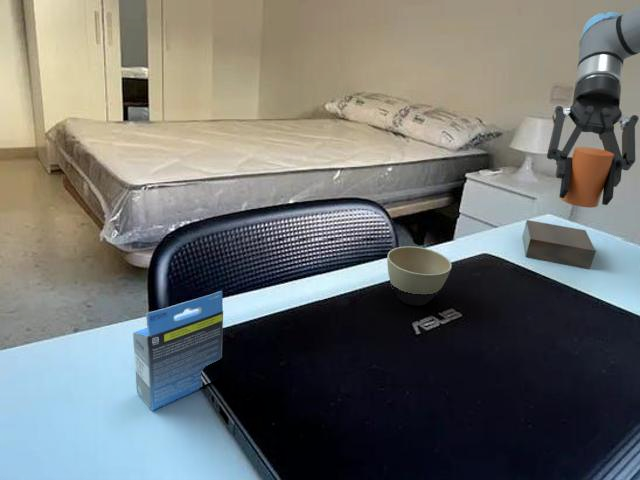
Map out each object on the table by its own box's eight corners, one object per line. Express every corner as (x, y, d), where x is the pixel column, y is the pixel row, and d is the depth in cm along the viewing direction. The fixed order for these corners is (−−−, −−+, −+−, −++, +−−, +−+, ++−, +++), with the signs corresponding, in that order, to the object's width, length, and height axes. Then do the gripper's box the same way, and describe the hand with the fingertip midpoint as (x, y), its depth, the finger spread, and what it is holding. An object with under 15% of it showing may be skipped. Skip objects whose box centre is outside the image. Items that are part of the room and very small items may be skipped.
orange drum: (594, 199, 89) (610, 150, 86) (600, 210, 84) (617, 157, 80) (558, 194, 91) (572, 145, 87) (562, 203, 85) (577, 151, 82)
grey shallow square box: (580, 247, 109) (585, 230, 107) (589, 269, 98) (595, 250, 96) (522, 236, 112) (526, 219, 110) (525, 256, 101) (530, 238, 99)
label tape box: (205, 364, 61) (204, 275, 57) (223, 381, 59) (224, 290, 54) (136, 393, 56) (128, 298, 51) (152, 414, 53) (146, 315, 48)
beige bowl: (369, 296, 81) (374, 256, 78) (404, 278, 87) (410, 241, 85) (421, 323, 74) (430, 280, 72) (454, 301, 81) (463, 262, 79)
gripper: (646, 107, 92) (639, 217, 84) (537, 95, 97) (521, 198, 89) (665, 79, 85) (659, 196, 77) (547, 67, 90) (530, 176, 82)
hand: (585, 197), depth 83 cm, fingers closed on orange drum, 6 cm apart
